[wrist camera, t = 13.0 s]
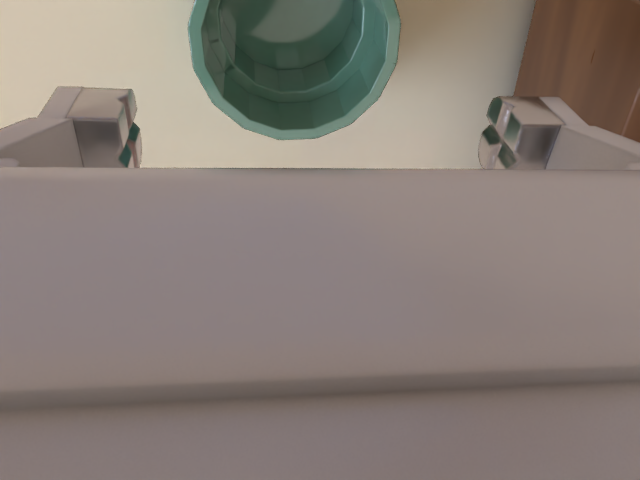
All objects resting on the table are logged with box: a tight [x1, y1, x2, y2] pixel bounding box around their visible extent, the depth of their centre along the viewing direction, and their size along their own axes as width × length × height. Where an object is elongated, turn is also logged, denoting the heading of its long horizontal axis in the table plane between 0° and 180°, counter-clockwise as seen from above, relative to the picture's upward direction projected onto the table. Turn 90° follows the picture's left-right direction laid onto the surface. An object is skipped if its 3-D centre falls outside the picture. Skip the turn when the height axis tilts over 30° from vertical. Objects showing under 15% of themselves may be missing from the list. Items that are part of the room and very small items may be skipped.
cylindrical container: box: [188, 0, 401, 140], centre depth 19 cm, size 6×6×5 cm
